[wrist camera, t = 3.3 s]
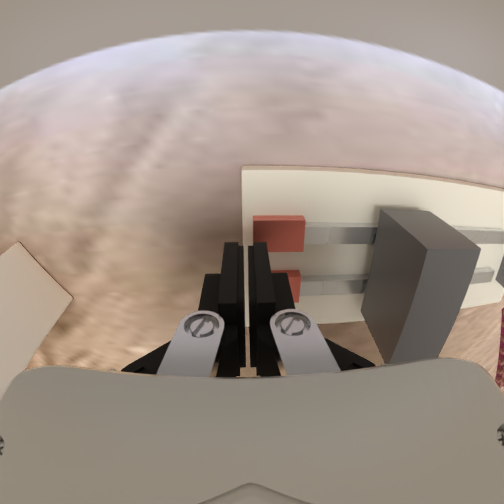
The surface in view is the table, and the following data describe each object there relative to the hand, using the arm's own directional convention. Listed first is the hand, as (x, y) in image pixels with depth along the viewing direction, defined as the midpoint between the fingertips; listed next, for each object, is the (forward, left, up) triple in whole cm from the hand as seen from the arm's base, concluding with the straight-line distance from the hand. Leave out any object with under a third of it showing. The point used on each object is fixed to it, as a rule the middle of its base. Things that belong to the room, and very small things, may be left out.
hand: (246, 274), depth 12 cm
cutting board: (-7, -8, -4) cm, 11 cm away
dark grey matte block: (-5, -6, -2) cm, 8 cm away
